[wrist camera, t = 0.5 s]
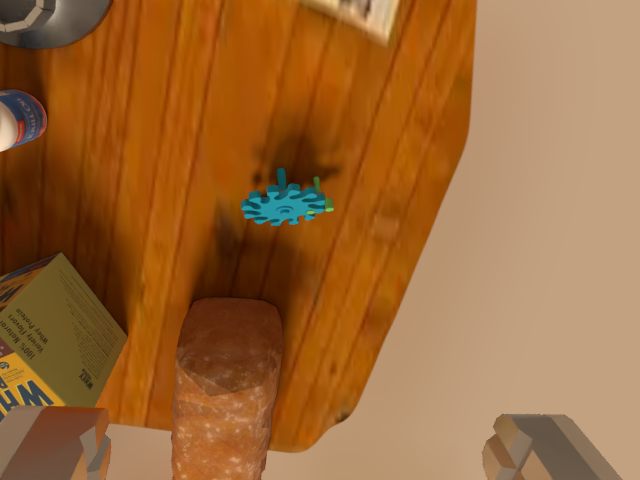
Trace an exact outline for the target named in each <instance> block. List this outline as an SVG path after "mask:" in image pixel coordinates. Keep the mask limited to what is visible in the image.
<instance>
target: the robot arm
mask: <svg viewBox="0 0 640 480" xmlns="http://www.w3.org/2000/svg"><path fill="white" fill-rule="evenodd" d="M108 425H109V414H108V409H106V408H90V407H66V406H30V405H17V406H15V407H14V408H13V409H12V410H10V411H9V412H8V413H7V414H6V416H5V417H4V418H3V420H2V421H1V423H0V480H106V476H107V471H108V468H109V463H110V455H111V440H110V439H109V438H108V437H107V436H106V435H105V432H106V429H107V427H108ZM493 428H494V430H495V432H496V434H495V435H494V436H492V437H491V438H490V439H488V440H487V441H486V444H485V446H484V449H483V452H482V455H483V456H482V457H483V468H484V471H485V474H486V477H487V479H488V480H622V478H621V477H620V476H619V475H618V474H617V473H616V471H615V470H614V469H613V468H612V467H611V465H610V464H609V463H608V462H607V461H606V459H605V458H604V457H603V456H602V455H601V454H600V452H599V451H598V450H597V449H596V448H595V446H594V445H593V444H592V443H591V442H590V441H589V439H588V438H587V437H586V436H585V435H584V434H583V432H582V431H581V430H580V429H579V427H578V426H577V425H576V424H575V423H574V421H573V420H572V419H570V418H569V417H567V416H566V415H540V414H502V415H501V416H499V417H498V418H497V419H496V421H495V423H494V426H493Z"/></svg>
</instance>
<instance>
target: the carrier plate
mask: <svg viewBox="0 0 640 480" xmlns="http://www.w3.org/2000/svg"><path fill="white" fill-rule="evenodd" d="M112 3H113V0H0V42H3V43H6V44H9V45H13V46H17V47H22V48H30V49H52V48H59V47H64V46H67V45H70V44H73V43H75V42H78V41H80V40H82V39H83V38H85V37H86V36H88V35H89V34H90V33H92V32H93V31H94V30H95V29H96V28H97V27H98V26H99V25H100V24H101V22H102V21H103V20H104V18H105V17H106V15H107V13H108V11H109V9H110V7H111V5H112Z"/></svg>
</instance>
